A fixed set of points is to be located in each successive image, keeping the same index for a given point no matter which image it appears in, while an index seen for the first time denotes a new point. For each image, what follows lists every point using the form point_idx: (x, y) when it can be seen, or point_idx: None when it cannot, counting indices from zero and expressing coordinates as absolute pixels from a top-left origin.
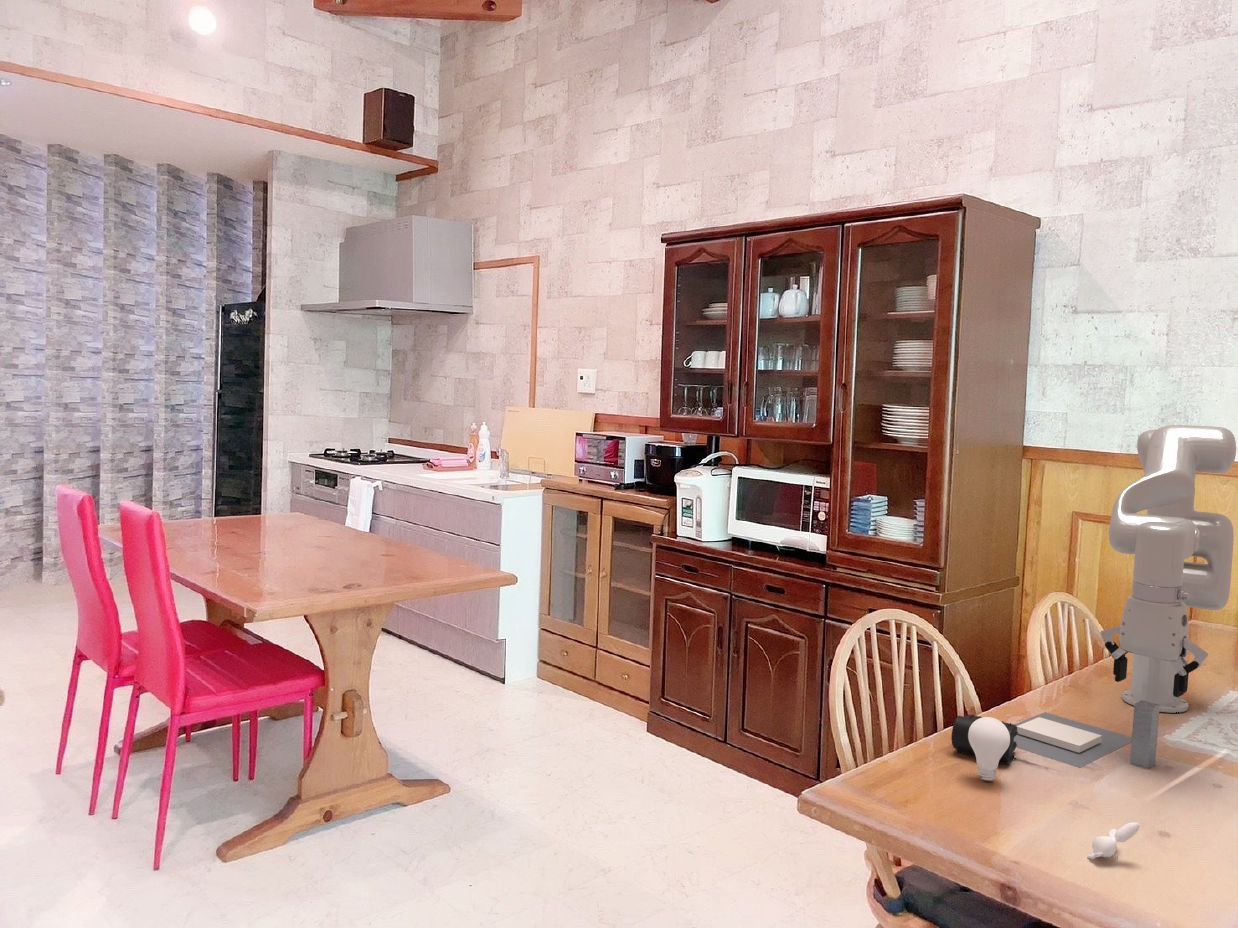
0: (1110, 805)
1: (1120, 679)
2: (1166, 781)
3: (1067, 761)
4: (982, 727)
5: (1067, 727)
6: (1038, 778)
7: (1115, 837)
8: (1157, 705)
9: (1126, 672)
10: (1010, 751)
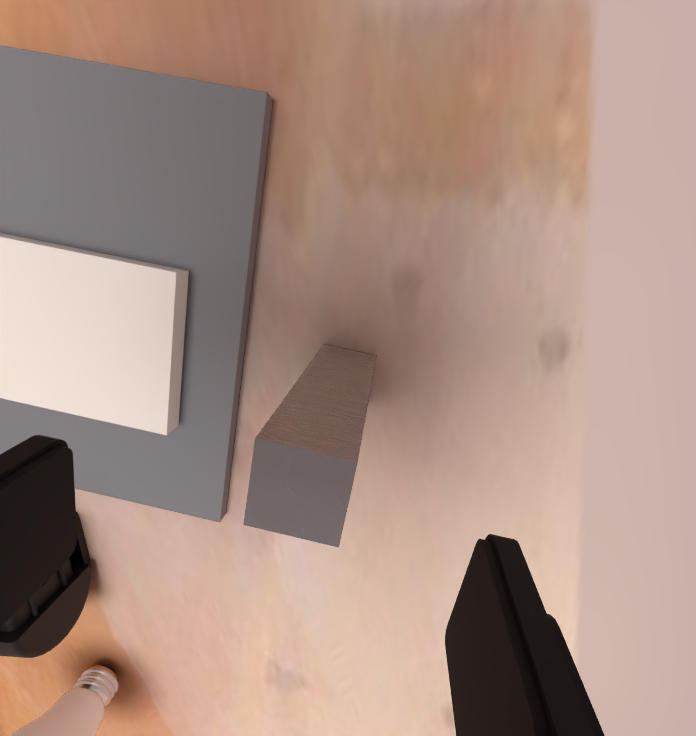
0: (337, 647)
1: (66, 544)
2: (419, 418)
3: (180, 498)
4: None
5: (64, 273)
6: (172, 597)
7: None
8: (348, 480)
9: (28, 471)
10: (70, 610)
